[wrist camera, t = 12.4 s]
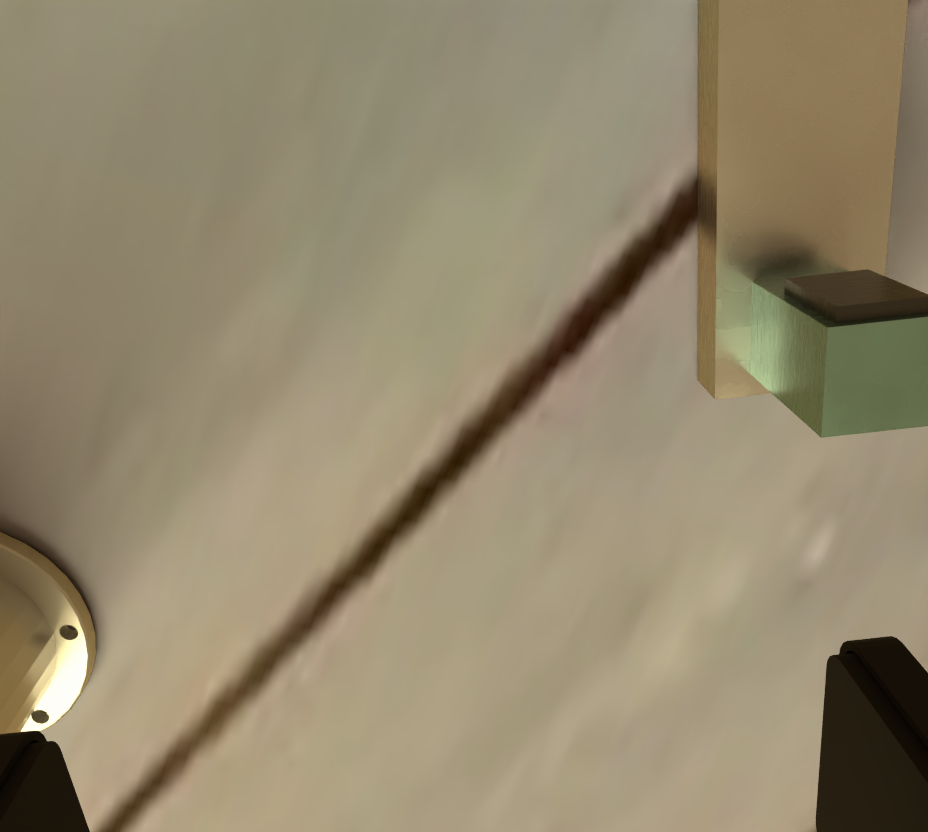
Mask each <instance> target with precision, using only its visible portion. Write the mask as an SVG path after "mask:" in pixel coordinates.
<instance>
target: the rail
mask: <svg viewBox="0 0 928 832" xmlns="http://www.w3.org/2000/svg"><path fill="white" fill-rule="evenodd" d="M907 9H908V0H698V381H699V382H700V384H701V385H702V386H703V387H704V388H705V389H706V390H707V391H708V392H709V393H710V395H711V396H712V397H713V398H714V399H723V398H732V397H741V396H751V395H760V394H769V393H772V394H773V395H774V396H775V397H777V398H778V399H779V400H780V401H781V402H782V403H783V404H784V405H785V406H787V407H788V408H789V409H790V410H791V411H792V412H793V413H794V414H795V415H797V416H798V417H799V418H800V419H801V420H802V421H803V422H804V423H806V424H807V425H808V426H809V427H810V428H811V429H812V430H813V431H814V432H816V433H817V434H818V435H819V436H820V437H821V438H822V437H831V436H840V435H849V434H858V433H868V432H877V431H886V430H895V429H904V428H913V427H923V426H928V294H925V293H923V292H921V291H918V290H916V289H914V288H911V287H909V286H906V285H904V284H902V283H899V282H897V281H895V280H892V279H890V278H887V277H885V269H886V257H887V245H888V234H889V222H890V210H891V198H892V186H893V174H894V163H895V151H896V139H897V127H898V115H899V103H900V92H901V80H902V68H903V56H904V44H905V32H906V20H907Z"/></svg>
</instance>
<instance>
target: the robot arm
mask: <svg viewBox="0 0 928 832" xmlns="http://www.w3.org/2000/svg"><path fill="white" fill-rule="evenodd" d="M95 656H96V638H95V631H94V627H93V623H92V620H91V616H90V613H89V611H88V609H87V607H86V605H85V603H84V601H83V599H82V597H81V595H80V594H79V592H78V591H77V590H76V588H75V587H74V586H73V584H72V583H71V582H70V580H69V579H68V578H67V576H66V575H65V574H64V573H63V572H62V571H60V570H59V569H58V568H57V567H56V566H55V565H54V564H53V563H52V562H51V561H50V560H49V559H48V558H46V557H45V556H43V555H42V554H40V553H39V552H37V551H36V550H34V549H33V548H31V547H30V546H28V545H27V544H25V543H23V542H21V541H19V540H16V539H14V538H12V537H10V536H8V535H6V534H4V533H2V532H0V832H90V831H89V828H88V826H87V823H86V820H85V817H84V814H83V811H82V809H81V806H80V803H79V800H78V797H77V794H76V792H75V789H74V786H73V783H72V780H71V777H70V775H69V772H68V769H67V766H66V763H65V760H64V758H63V755H62V752H61V749H60V747H59V745H58V744H57V743H56V742H54V741H48V742H47V741H46V739H45V737H44V735H43V734H42V733H41V732H42V731H43V730H45V729H47V728H48V727H50V726H52V725H53V724H55V723H57V722H58V721H59V720H60V719H61V718H62V717H63V716H64V715H65V714H66V713H67V712H68V711H70V710H71V709H72V707H73V706H74V704H75V703H76V701H77V700H78V698H79V696H80V695H81V693H82V692H83V690H84V688H85V686H86V684H87V682H88V680H89V678H90V676H91V674H92V670H93V665H94V661H95ZM816 828H817V832H928V673H927V671H926V670H925V669H924V668H923V667H922V666H921V664H920V663H919V662H918V661H917V660H916V659H915V657H914V656H913V655H912V654H911V653H910V652H909V650H908V649H907V648H906V647H905V646H904V644H903V643H902V642H900V641H899V640H898V639H897V638H895V637H892V636H889V637H880V638H871V639H862V640H853V641H847V642H844V643H843V644H842V646H841V648H840V653H839V655H832V656H830V657H829V659H828V661H827V669H826V683H825V697H824V711H823V725H822V739H821V753H820V767H819V781H818V796H817V810H816Z"/></svg>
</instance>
